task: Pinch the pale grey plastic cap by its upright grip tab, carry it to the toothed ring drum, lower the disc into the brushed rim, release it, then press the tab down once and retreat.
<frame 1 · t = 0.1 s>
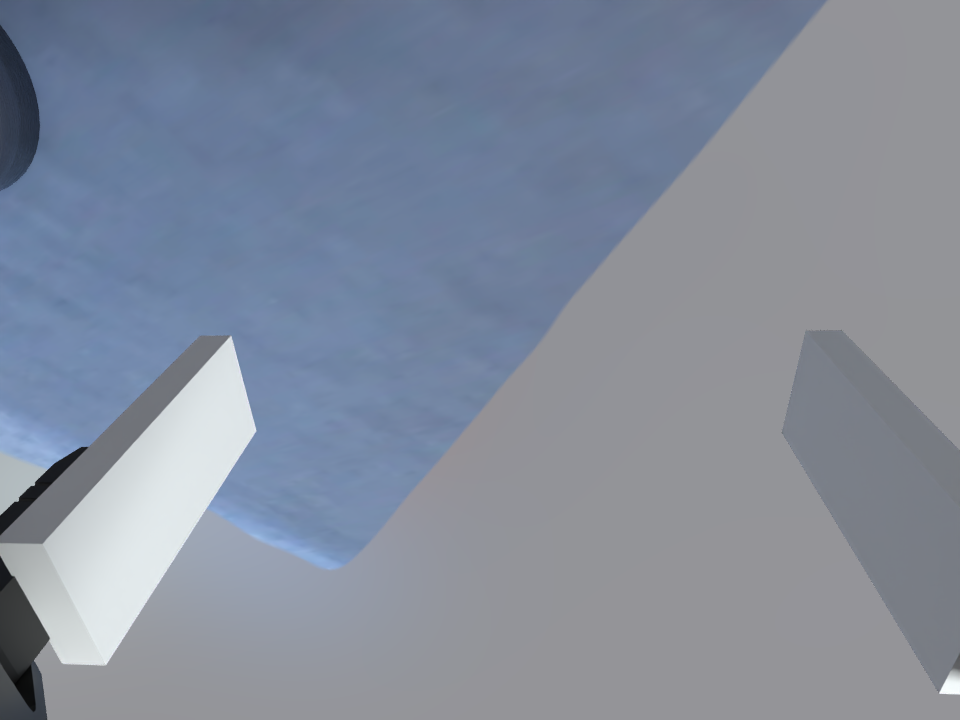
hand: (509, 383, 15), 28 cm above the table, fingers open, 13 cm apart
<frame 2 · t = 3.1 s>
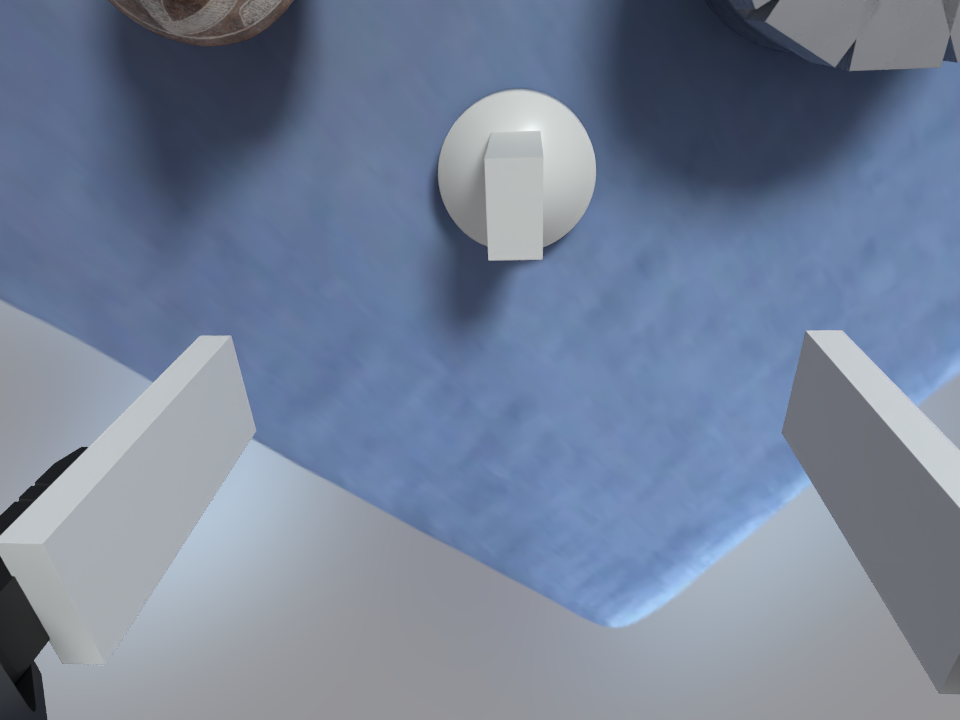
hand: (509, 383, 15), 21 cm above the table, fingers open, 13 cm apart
cap: (516, 170, 33), on the table
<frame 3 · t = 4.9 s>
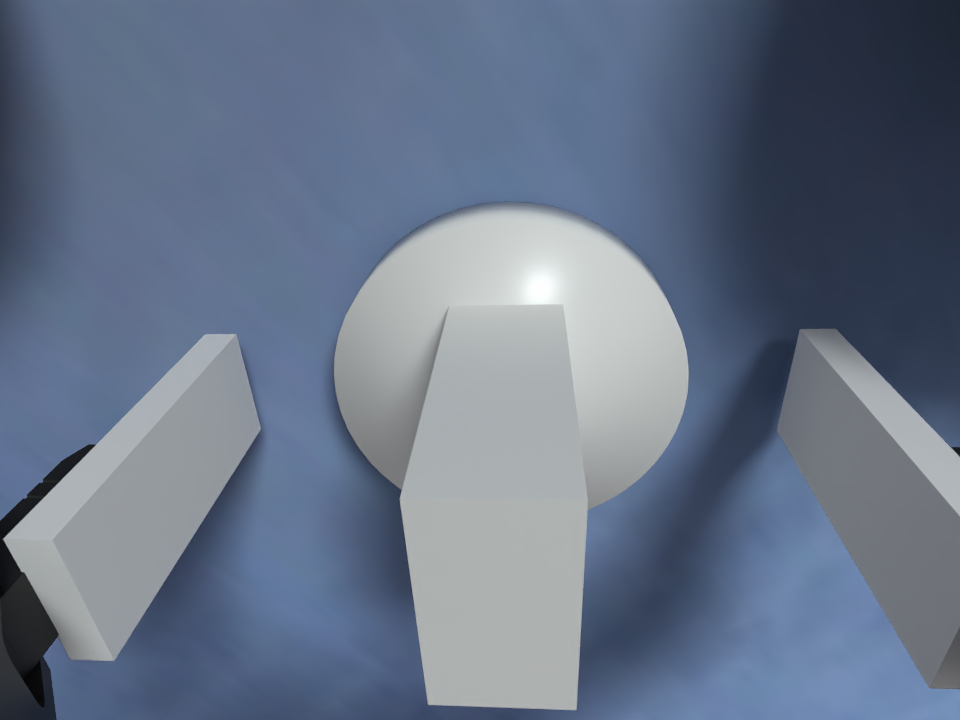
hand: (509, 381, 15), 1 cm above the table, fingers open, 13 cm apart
cap: (509, 360, 16), on the table
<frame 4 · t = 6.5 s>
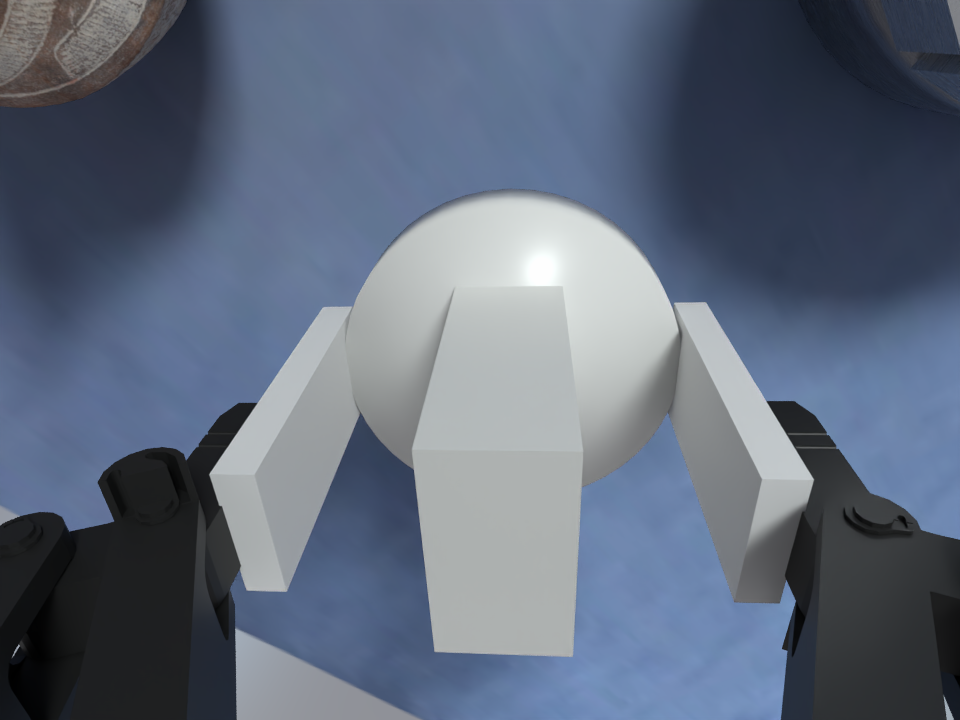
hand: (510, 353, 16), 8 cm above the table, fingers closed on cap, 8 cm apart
cap: (511, 342, 16), point 7 cm above the table, touching gripper
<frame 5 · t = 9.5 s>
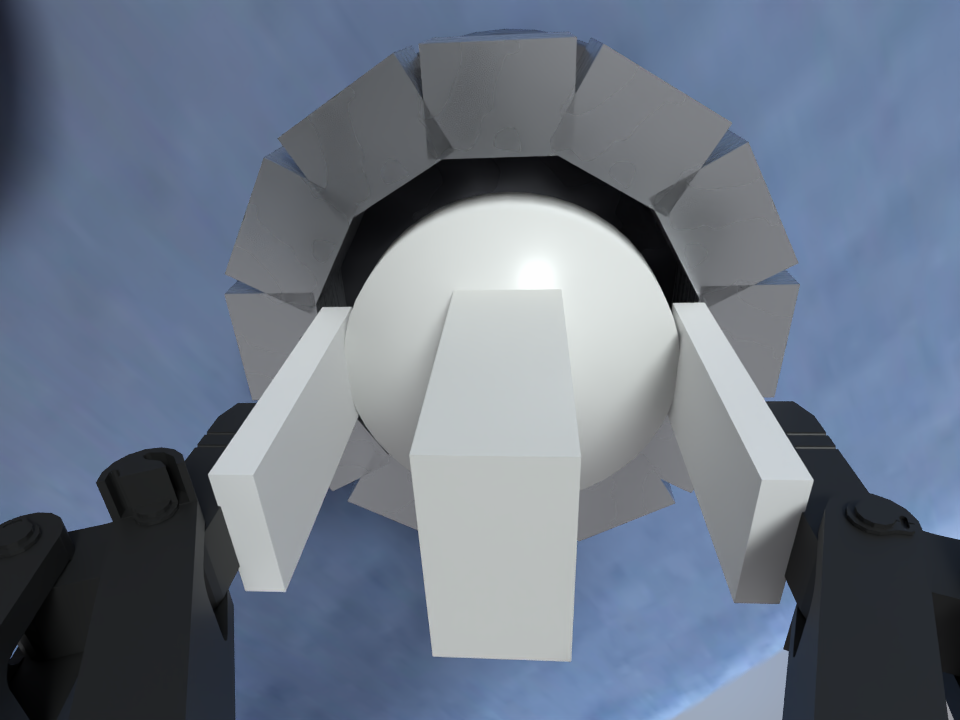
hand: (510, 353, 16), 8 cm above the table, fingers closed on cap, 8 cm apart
cap: (510, 345, 16), point 7 cm above the table, touching gripper
toothed ring drum: (508, 247, 23), on the table
when the fingers open (8 cm above the table, at t = 11.0 s): cap drops 2 cm, resting on toothed ring drum.
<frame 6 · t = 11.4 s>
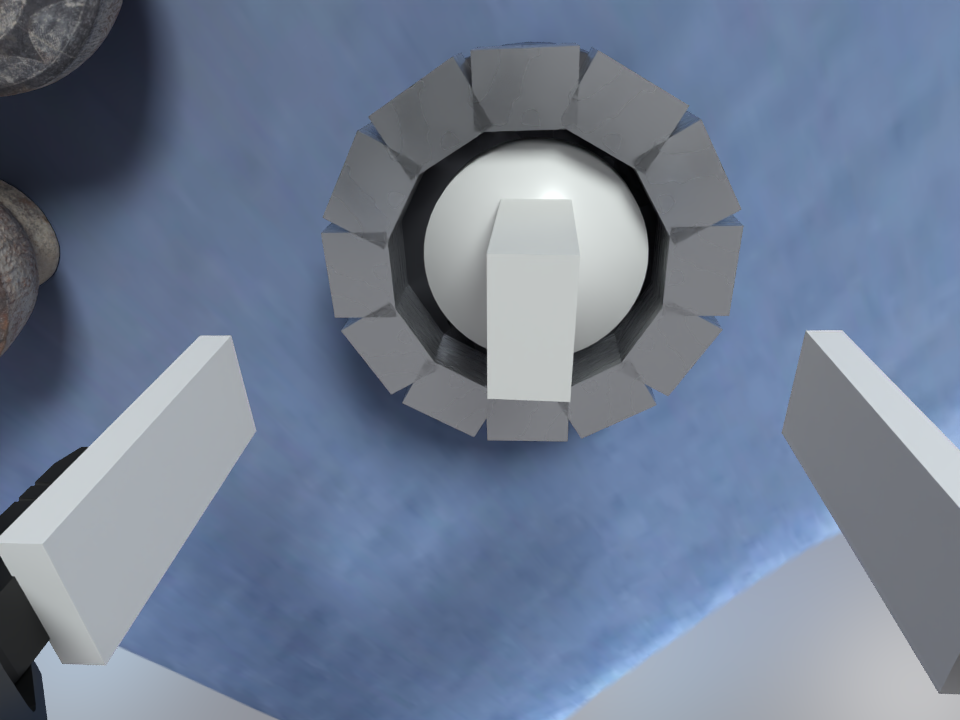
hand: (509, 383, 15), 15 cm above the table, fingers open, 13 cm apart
cap: (534, 247, 24), point 5 cm above the table, touching toothed ring drum
toothed ring drum: (528, 215, 28), on the table
pottery: (32, 90, 28), on the table
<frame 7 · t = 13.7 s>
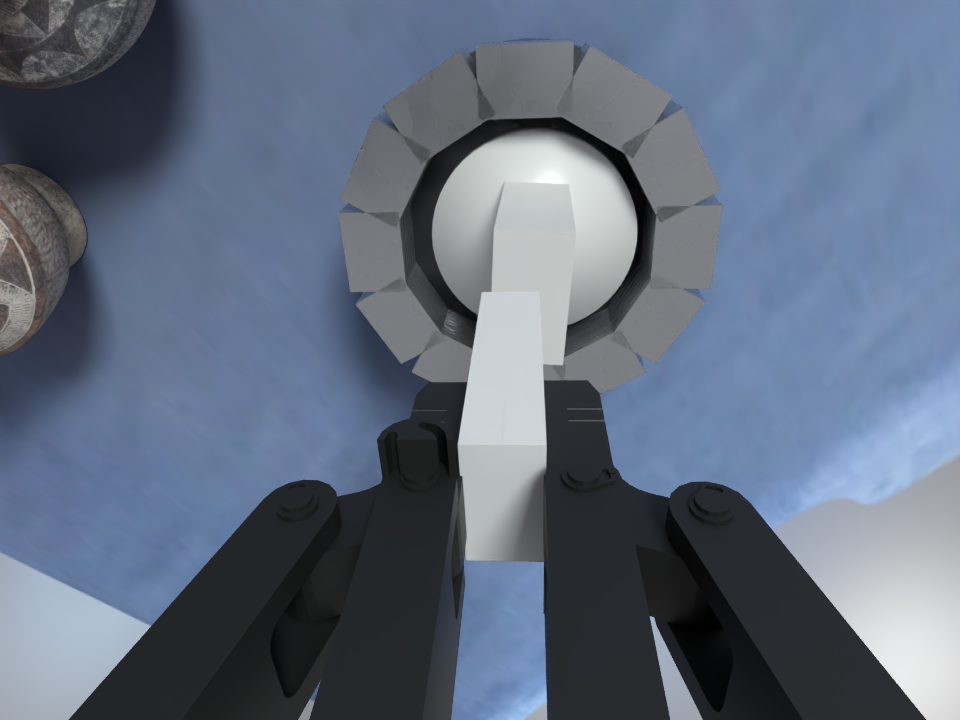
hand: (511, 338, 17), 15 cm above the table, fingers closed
cap: (533, 227, 26), point 5 cm above the table, touching toothed ring drum
toothed ring drum: (527, 200, 30), on the table
pottery: (64, 84, 30), on the table
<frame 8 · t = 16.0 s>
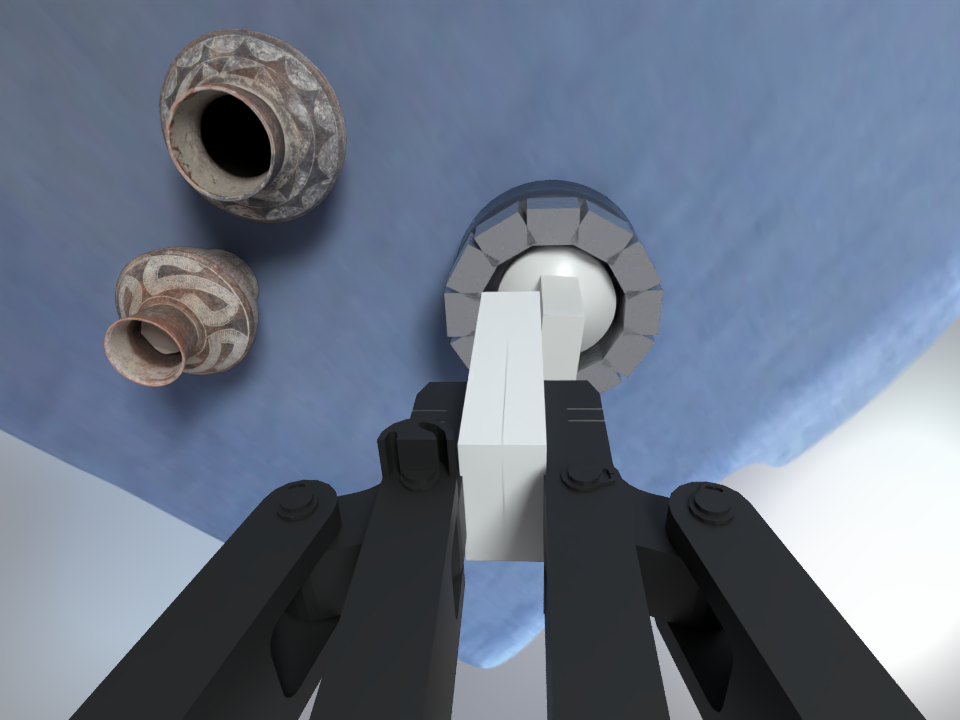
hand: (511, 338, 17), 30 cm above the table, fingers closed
cap: (554, 297, 43), point 5 cm above the table, touching toothed ring drum
toothed ring drum: (548, 272, 48), on the table
pottery: (256, 201, 47), on the table
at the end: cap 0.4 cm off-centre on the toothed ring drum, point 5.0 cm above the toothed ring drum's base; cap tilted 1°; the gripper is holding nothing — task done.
